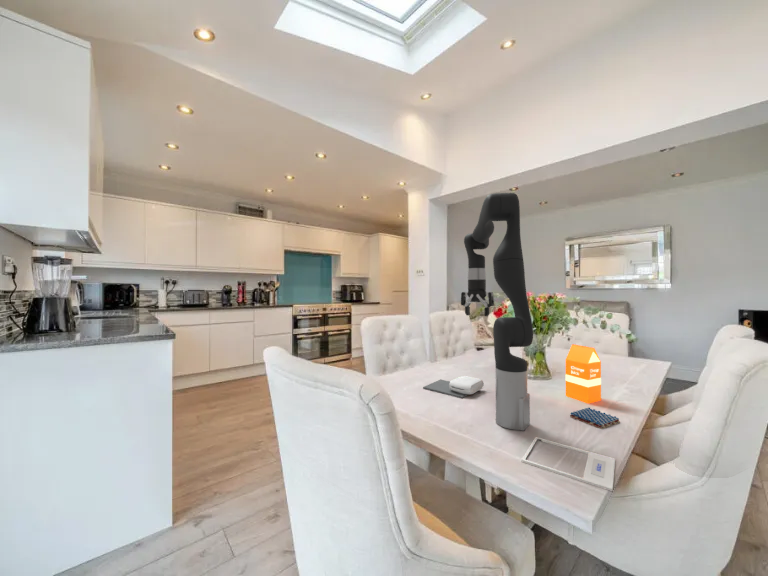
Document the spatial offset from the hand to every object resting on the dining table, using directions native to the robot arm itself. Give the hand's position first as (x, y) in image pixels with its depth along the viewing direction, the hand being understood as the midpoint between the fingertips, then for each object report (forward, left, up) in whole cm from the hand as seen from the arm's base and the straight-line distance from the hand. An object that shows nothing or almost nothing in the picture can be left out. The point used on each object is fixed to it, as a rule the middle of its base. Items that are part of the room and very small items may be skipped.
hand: (476, 315), depth 136 cm
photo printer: (-1, +6, -27) cm, 28 cm away
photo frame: (-43, +42, -31) cm, 68 cm away
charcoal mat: (+6, +13, -30) cm, 33 cm away
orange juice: (-38, -10, -30) cm, 50 cm away
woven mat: (-44, +10, -31) cm, 55 cm away
